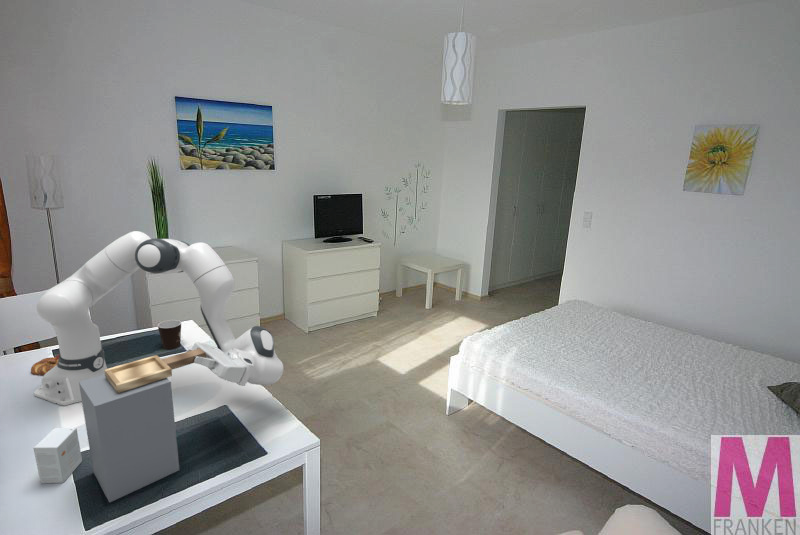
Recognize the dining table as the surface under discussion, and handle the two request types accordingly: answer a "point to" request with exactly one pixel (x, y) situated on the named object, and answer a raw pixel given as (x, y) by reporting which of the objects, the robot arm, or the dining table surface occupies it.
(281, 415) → the dining table surface
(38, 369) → the pretzel
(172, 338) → the coffee mug
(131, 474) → the tall grey pillar block
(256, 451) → the dining table surface
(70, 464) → the small box
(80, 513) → the dining table surface
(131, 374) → the oak tray
